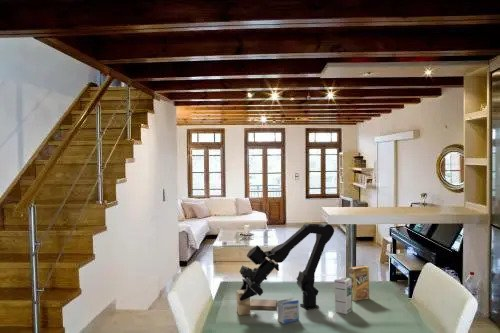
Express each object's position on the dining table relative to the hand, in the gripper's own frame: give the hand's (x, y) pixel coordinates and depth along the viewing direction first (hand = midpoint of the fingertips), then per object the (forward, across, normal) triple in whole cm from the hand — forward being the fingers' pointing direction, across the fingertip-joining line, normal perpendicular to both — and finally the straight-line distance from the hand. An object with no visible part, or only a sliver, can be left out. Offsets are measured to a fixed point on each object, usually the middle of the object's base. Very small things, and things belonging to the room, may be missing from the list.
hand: (239, 298), depth 193 cm
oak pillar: (+3, 0, +6) cm, 7 cm away
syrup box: (-27, +10, +37) cm, 47 cm away
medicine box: (-8, +14, +18) cm, 24 cm away
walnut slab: (-4, -7, +14) cm, 16 cm away
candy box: (-37, -4, +47) cm, 60 cm away
